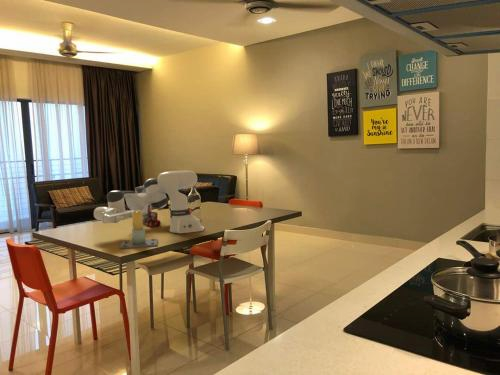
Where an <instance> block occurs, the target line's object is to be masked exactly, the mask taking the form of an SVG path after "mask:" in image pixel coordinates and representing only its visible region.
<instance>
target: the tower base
mask: <svg viewBox="0 0 500 375" xmlns="http://www.w3.org/2000/svg"><path fill="white" fill-rule="evenodd" d="M145 230H146V229H145V228H144V227H143V229H142V230H133V228H132V229H131V236H132V240H124V241H121V243H120V246H119V250H129V249H139V248H152V247H158V242H159V241H158V238H151V239H150V238H149V239H146V231H145Z"/></svg>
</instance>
